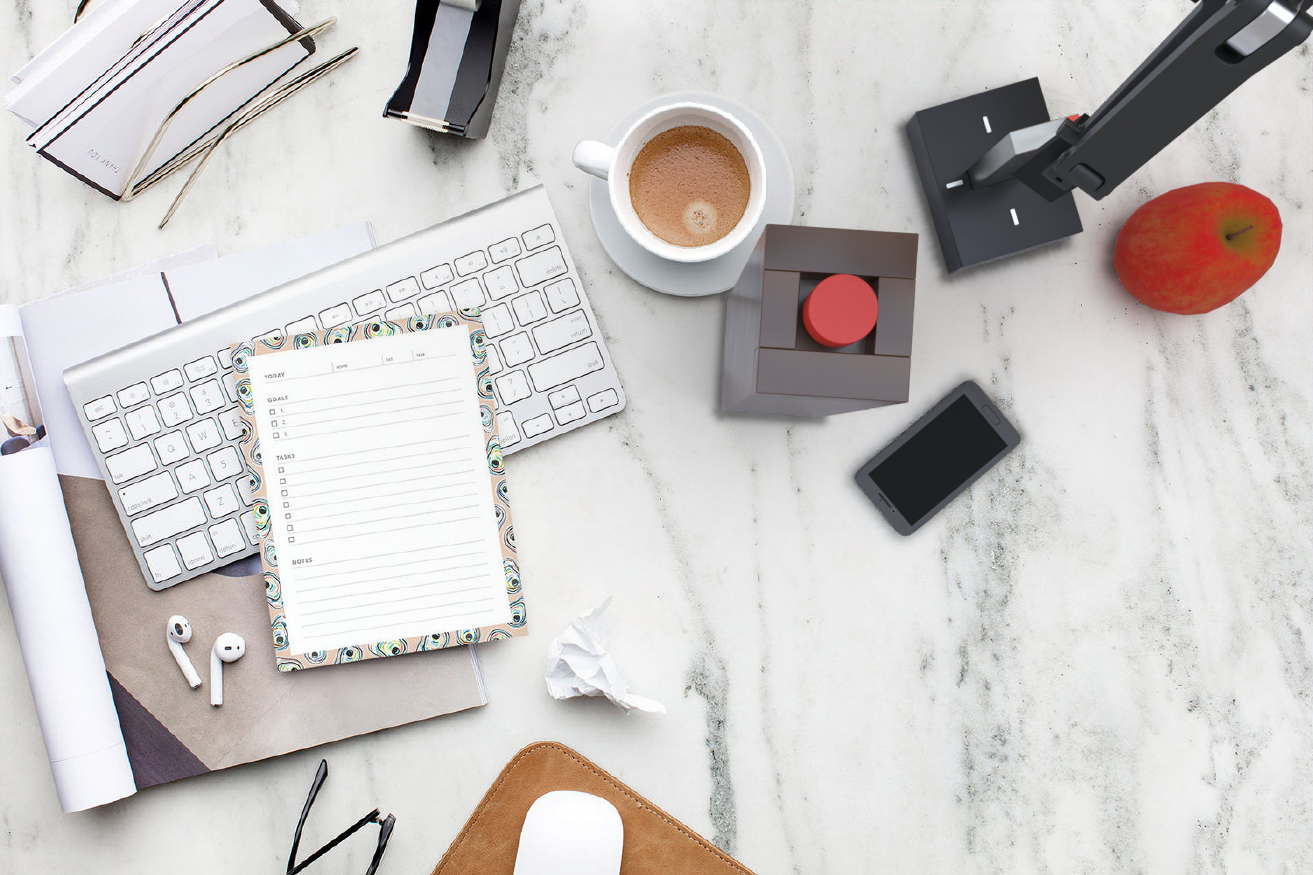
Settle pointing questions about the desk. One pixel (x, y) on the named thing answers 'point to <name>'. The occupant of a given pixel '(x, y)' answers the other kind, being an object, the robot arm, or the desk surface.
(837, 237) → the block
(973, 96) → the panel
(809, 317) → the button
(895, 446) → the cell phone
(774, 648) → the desk surface
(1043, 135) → the stove knob
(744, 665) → the desk surface
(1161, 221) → the apple
